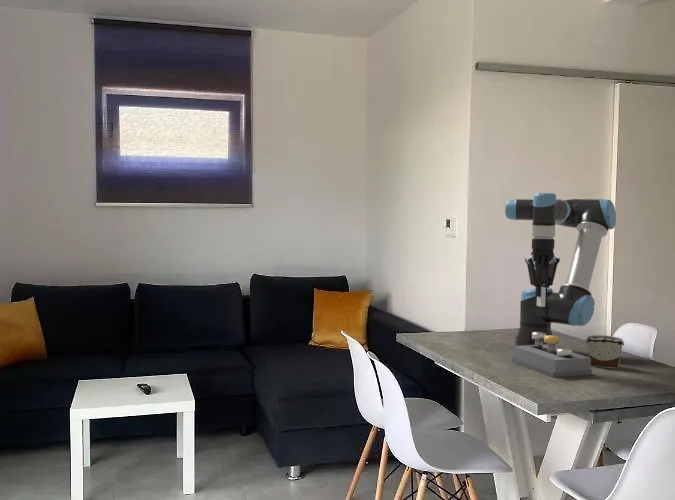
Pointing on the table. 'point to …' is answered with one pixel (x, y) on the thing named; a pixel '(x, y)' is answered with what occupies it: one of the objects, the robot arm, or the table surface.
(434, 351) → the table surface
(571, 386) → the table surface
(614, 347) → the food container
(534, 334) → the knob
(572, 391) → the table surface
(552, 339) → the yellow round knob
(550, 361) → the mount
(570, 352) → the knob
